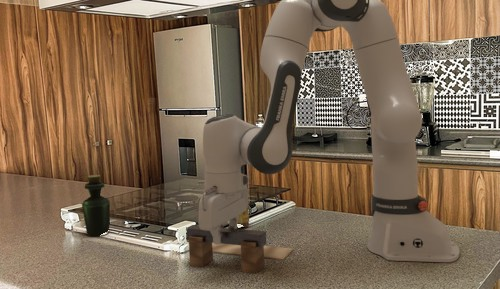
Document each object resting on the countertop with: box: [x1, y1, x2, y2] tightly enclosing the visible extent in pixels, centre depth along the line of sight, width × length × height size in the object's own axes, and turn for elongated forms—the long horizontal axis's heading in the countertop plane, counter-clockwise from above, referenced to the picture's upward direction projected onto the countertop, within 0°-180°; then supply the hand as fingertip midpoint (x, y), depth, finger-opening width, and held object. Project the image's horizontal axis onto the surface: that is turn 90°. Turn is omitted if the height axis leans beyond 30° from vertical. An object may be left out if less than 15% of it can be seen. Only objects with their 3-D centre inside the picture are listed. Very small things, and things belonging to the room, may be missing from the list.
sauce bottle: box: [228, 165, 250, 228], centre depth 157 cm, size 7×6×20 cm
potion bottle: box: [81, 174, 111, 238], centre depth 155 cm, size 8×8×18 cm
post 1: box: [188, 236, 214, 268], centre depth 127 cm, size 4×5×7 cm, turn 157°
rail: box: [185, 224, 267, 247], centre depth 123 cm, size 20×3×3 cm, turn 67°
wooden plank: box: [212, 243, 294, 261], centre depth 135 cm, size 24×8×1 cm, turn 67°
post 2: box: [240, 241, 265, 274], centre depth 121 cm, size 4×5×7 cm, turn 157°
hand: (225, 238), depth 124 cm, fingers open, 7 cm apart
